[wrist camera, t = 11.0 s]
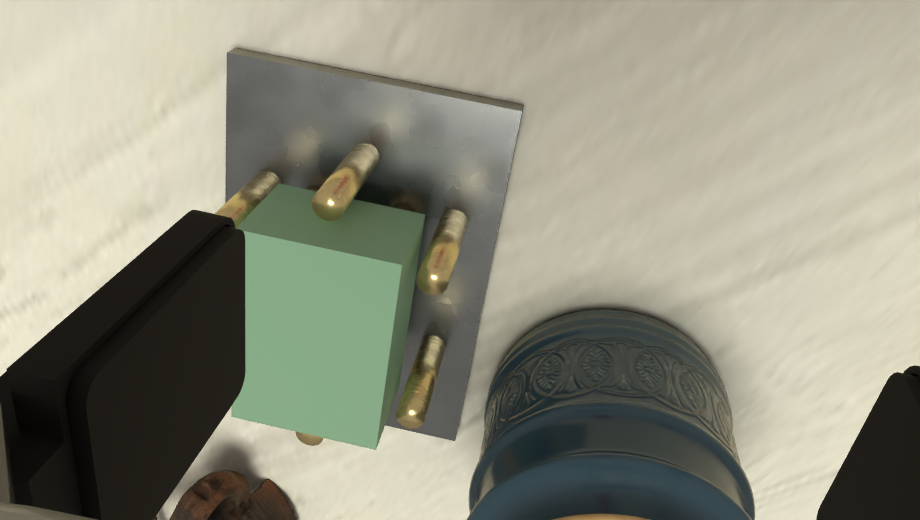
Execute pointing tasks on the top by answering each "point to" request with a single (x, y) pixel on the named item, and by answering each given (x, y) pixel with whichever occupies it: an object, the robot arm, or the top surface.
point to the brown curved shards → (231, 500)
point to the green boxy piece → (326, 315)
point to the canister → (608, 427)
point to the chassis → (385, 194)
